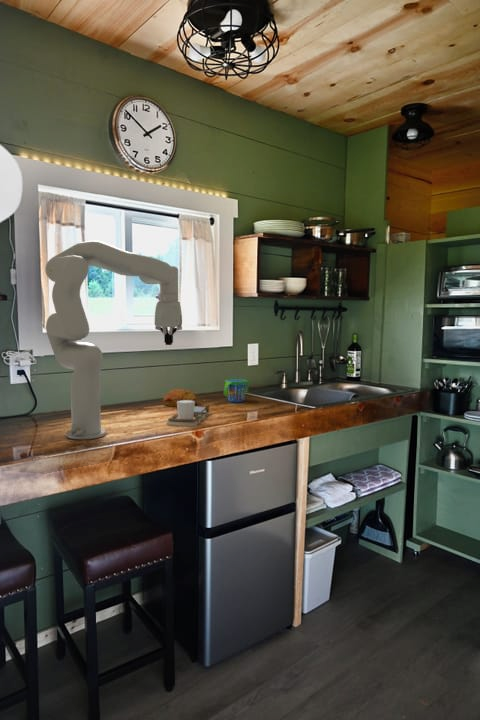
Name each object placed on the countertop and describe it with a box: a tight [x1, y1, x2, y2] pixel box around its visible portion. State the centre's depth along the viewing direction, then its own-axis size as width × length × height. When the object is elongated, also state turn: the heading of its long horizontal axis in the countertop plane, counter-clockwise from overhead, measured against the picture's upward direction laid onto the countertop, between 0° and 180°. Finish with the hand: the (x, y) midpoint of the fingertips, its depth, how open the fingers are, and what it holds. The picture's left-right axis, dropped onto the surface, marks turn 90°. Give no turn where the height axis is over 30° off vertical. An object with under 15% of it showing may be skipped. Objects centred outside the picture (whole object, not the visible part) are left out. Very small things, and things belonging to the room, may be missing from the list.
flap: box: [194, 405, 206, 414], centre depth 200 cm, size 10×9×1 cm
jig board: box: [166, 404, 210, 427], centre depth 195 cm, size 22×11×4 cm, turn 170°
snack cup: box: [223, 378, 249, 403], centre depth 234 cm, size 16×10×10 cm
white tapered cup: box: [177, 400, 196, 420], centre depth 189 cm, size 7×7×7 cm
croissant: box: [162, 388, 198, 408], centre depth 226 cm, size 14×16×8 cm
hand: (168, 344), depth 196 cm, fingers closed
